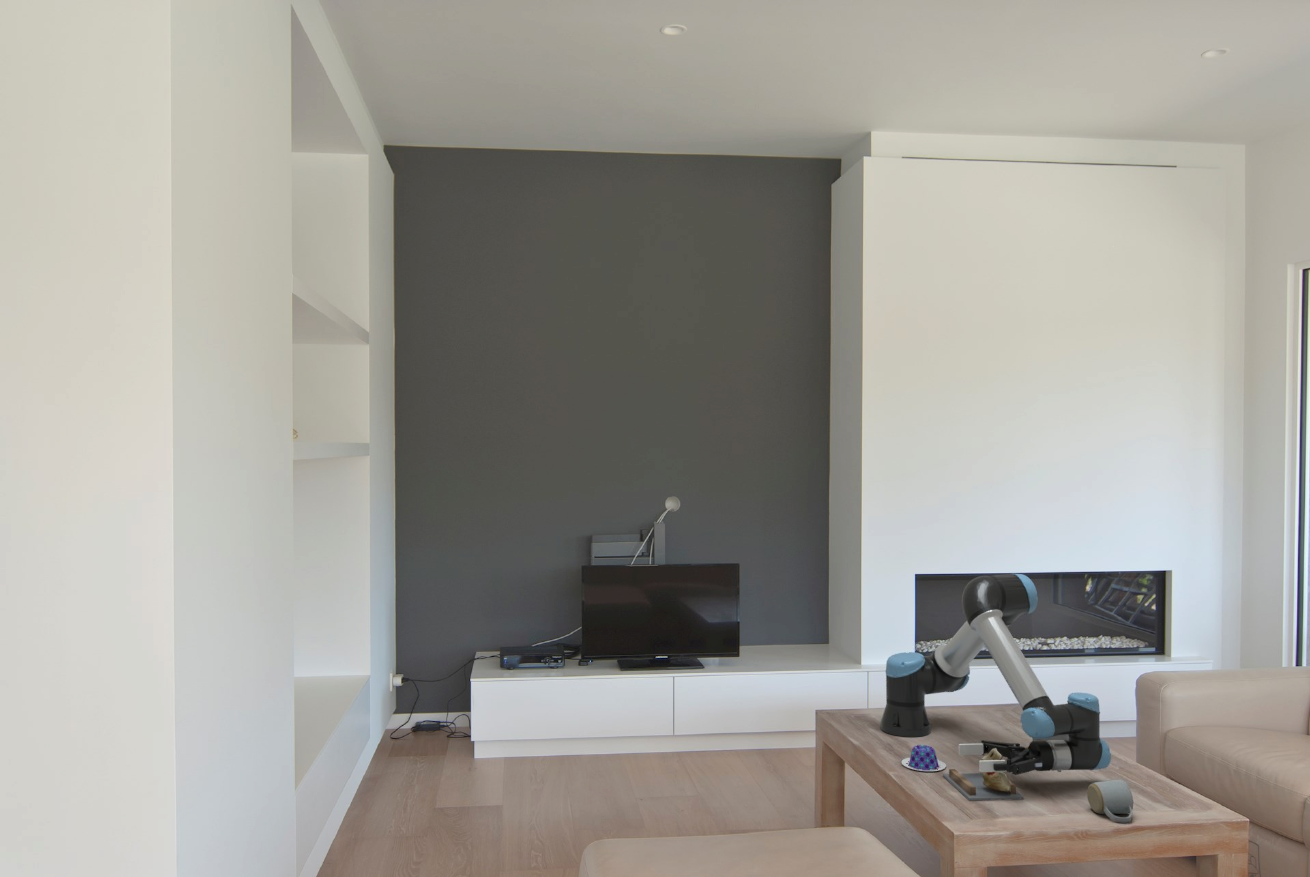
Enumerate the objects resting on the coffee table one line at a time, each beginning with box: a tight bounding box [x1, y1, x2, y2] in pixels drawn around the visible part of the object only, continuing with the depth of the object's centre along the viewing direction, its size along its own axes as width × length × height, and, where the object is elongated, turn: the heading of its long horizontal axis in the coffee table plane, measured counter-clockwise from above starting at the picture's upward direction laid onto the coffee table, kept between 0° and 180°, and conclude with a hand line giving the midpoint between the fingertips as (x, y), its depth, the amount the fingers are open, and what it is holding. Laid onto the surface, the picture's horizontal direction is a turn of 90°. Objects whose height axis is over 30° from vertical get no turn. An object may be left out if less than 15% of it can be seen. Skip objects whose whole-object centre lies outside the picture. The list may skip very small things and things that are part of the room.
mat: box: [942, 772, 1025, 802], centre depth 246 cm, size 18×14×1 cm
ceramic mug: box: [1086, 779, 1134, 824], centre depth 228 cm, size 11×8×8 cm
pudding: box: [901, 744, 947, 772], centre depth 264 cm, size 12×12×5 cm
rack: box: [948, 768, 1017, 795], centre depth 246 cm, size 14×12×2 cm
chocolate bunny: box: [980, 748, 1011, 791], centre depth 242 cm, size 6×8×10 cm
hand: (969, 757), depth 246 cm, fingers open, 13 cm apart
